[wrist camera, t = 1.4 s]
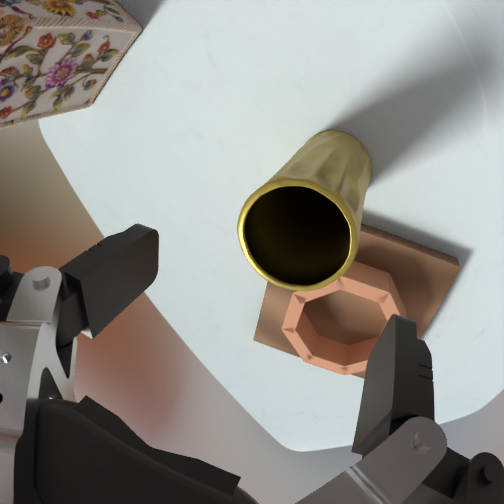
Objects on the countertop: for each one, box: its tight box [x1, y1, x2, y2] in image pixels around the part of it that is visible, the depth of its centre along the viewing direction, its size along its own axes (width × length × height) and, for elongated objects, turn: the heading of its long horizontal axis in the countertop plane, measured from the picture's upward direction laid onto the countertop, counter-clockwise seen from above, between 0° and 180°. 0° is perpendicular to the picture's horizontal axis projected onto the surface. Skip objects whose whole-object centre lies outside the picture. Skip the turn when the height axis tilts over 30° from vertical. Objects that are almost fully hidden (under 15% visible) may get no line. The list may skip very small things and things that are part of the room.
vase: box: [237, 131, 372, 291], centre depth 19 cm, size 6×6×14 cm
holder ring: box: [282, 261, 407, 375], centre depth 28 cm, size 10×10×3 cm
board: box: [253, 224, 460, 379], centre depth 30 cm, size 16×16×2 cm
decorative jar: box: [0, 0, 142, 129], centre depth 19 cm, size 12×12×18 cm
